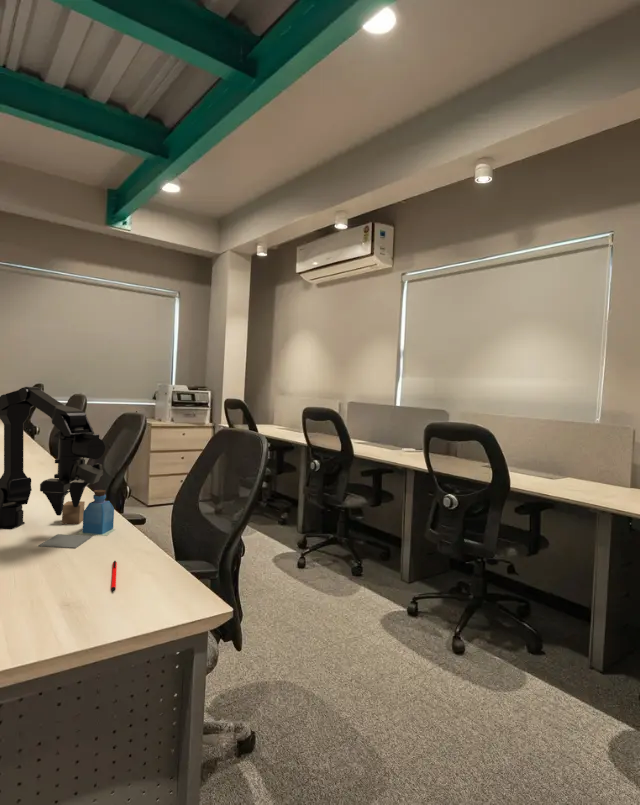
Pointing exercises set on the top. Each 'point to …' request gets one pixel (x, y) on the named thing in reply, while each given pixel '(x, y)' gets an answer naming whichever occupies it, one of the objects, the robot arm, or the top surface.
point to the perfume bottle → (98, 515)
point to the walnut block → (72, 513)
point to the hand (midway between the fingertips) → (67, 511)
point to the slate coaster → (65, 541)
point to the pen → (114, 576)
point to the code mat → (96, 534)
